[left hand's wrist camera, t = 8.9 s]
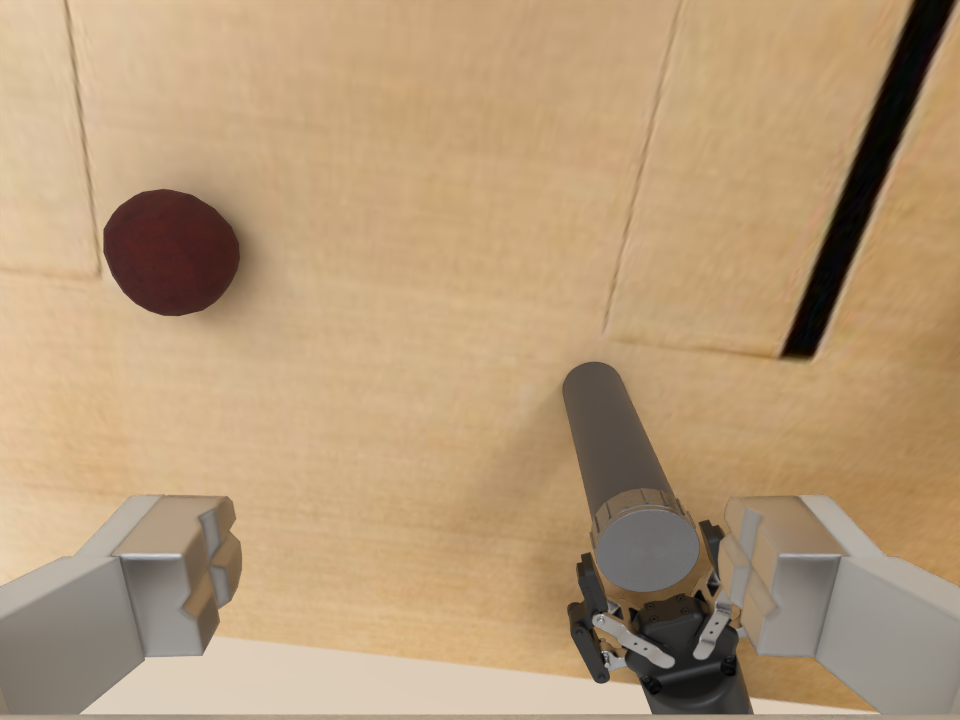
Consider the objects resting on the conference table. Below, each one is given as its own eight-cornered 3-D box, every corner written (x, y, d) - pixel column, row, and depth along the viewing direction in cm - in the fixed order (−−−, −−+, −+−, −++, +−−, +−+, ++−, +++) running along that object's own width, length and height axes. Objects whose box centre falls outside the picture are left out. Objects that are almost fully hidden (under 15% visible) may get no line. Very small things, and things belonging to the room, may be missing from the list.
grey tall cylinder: (634, 379, 45) (711, 532, 29) (600, 424, 47) (656, 595, 31) (583, 351, 45) (634, 492, 28) (551, 398, 46) (581, 558, 30)
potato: (181, 310, 44) (127, 346, 37) (120, 205, 41) (50, 224, 35) (274, 275, 43) (234, 306, 36) (217, 164, 40) (164, 176, 33)
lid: (710, 514, 30) (722, 537, 29) (651, 582, 32) (659, 607, 30) (627, 470, 29) (634, 491, 28) (571, 542, 31) (575, 566, 30)
